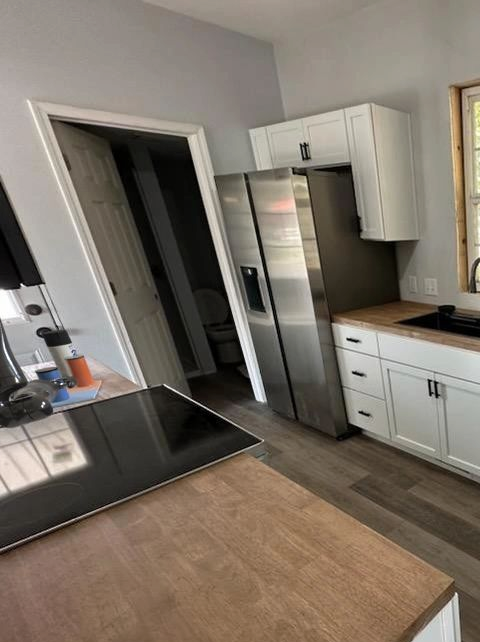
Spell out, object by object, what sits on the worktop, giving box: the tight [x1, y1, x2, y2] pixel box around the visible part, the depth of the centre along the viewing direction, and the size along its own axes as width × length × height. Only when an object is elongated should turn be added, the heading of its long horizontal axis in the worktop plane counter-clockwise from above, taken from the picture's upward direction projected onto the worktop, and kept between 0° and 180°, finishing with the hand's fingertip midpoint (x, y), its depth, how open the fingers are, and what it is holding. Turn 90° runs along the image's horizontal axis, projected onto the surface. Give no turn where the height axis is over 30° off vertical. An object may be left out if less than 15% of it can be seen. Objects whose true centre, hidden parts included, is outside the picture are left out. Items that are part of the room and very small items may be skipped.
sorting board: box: [51, 380, 103, 408], centre depth 146 cm, size 14×24×1 cm, turn 39°
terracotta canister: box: [64, 354, 95, 387], centre depth 152 cm, size 5×5×11 cm
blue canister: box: [34, 366, 70, 403], centre depth 138 cm, size 5×5×11 cm
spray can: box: [41, 329, 78, 378], centre depth 156 cm, size 7×7×20 cm
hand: (48, 381), depth 135 cm, fingers open, 8 cm apart
